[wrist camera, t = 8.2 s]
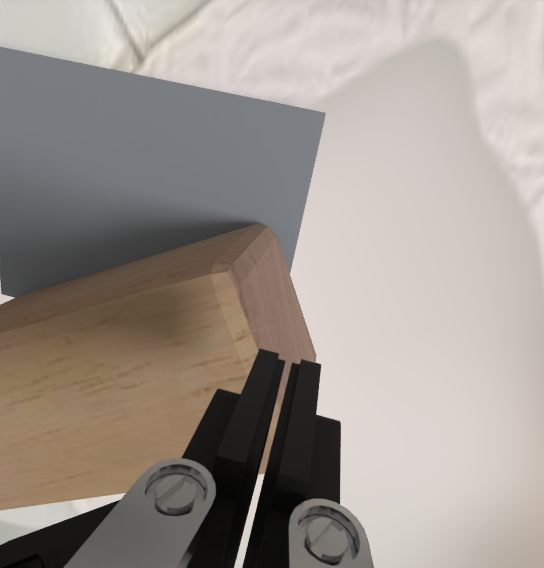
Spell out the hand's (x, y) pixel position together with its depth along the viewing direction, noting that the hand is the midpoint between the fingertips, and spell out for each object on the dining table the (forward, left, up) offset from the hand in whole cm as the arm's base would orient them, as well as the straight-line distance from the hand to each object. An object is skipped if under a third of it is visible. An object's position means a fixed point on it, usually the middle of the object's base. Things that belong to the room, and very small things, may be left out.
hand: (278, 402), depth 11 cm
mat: (+11, 0, -15) cm, 19 cm away
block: (0, +2, -10) cm, 10 cm away
